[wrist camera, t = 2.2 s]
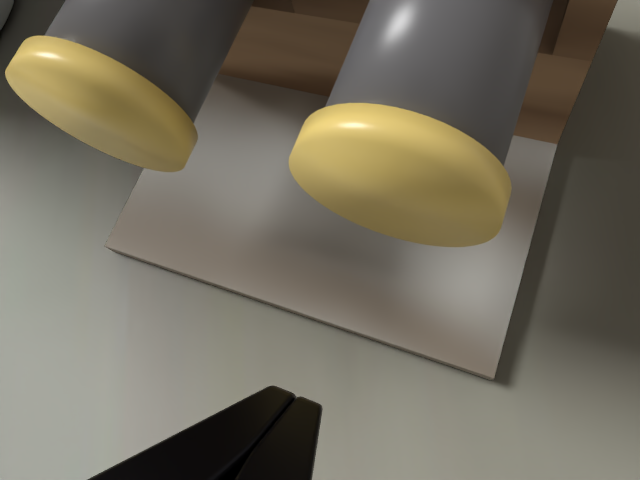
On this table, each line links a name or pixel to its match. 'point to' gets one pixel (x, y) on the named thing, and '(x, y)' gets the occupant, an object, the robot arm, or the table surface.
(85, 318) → the table surface
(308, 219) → the console
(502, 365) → the table surface
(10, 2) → the water bottle
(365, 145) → the knob right
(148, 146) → the knob left
